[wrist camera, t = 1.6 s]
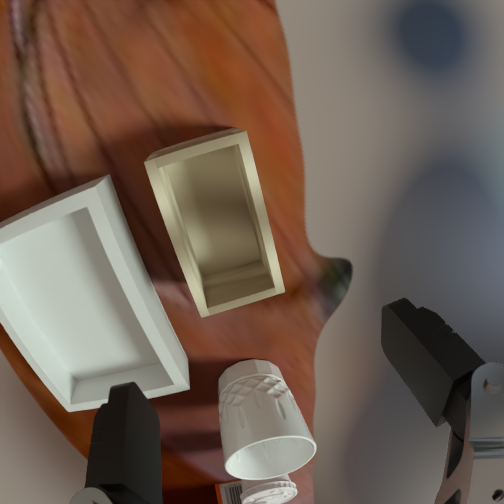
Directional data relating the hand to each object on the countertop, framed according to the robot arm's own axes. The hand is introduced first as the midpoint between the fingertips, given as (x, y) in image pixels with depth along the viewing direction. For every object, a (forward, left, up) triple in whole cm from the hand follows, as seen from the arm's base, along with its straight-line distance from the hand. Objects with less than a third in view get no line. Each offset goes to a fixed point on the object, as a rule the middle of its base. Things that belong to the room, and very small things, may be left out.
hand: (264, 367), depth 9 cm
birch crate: (0, 0, -17) cm, 17 cm away
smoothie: (-23, -18, -16) cm, 34 cm away
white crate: (-12, +6, -16) cm, 21 cm away
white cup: (-14, -12, -17) cm, 25 cm away
